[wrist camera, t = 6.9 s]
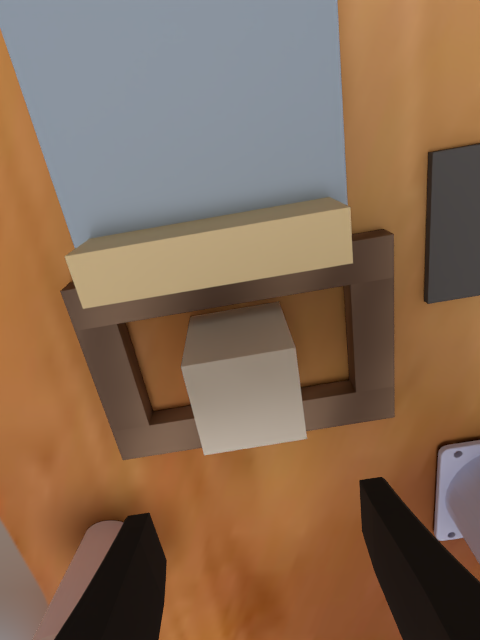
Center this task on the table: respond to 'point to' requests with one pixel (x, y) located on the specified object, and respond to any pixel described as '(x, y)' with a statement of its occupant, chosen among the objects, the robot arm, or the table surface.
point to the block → (243, 379)
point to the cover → (187, 138)
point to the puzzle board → (359, 292)
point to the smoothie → (78, 577)
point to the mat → (453, 224)
